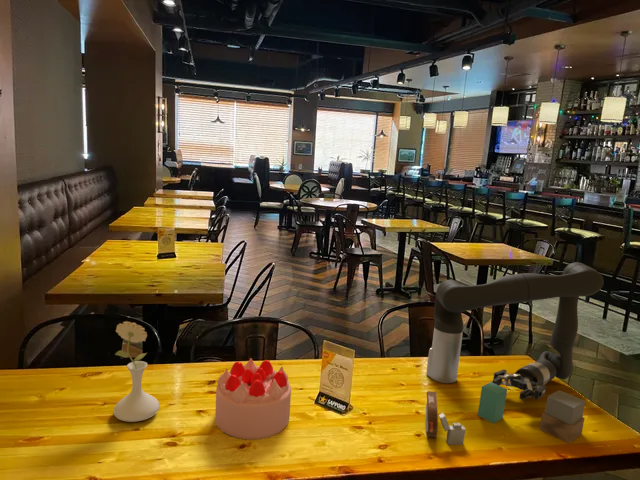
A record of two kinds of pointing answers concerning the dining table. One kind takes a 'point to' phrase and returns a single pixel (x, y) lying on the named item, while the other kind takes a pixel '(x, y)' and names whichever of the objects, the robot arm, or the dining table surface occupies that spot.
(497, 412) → the teal pillar
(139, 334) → the flower in vase
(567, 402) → the grey square block
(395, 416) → the dining table surface
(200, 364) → the dining table surface
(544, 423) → the walnut base block
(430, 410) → the tin
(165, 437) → the dining table surface
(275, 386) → the cake
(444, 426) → the lighter
